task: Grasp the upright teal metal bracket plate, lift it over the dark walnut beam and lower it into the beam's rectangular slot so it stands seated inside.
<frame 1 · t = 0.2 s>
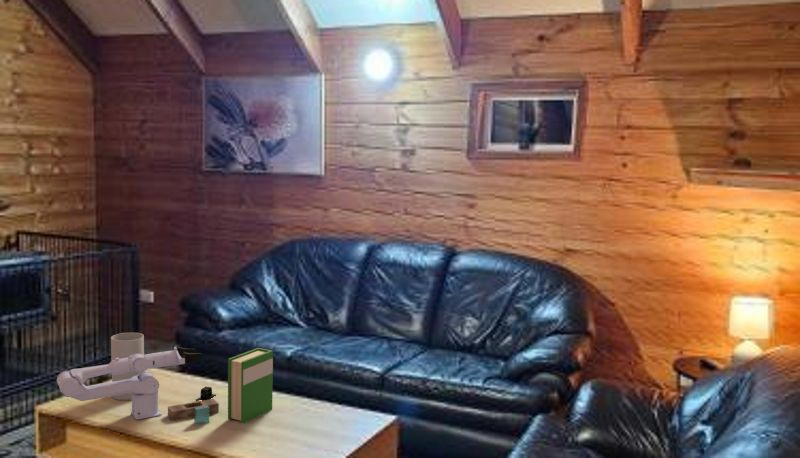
hand: (198, 353, 284), 21 cm above the table, tool horizontal, fingers open, 7 cm apart
hardback book: (250, 414, 279), on the table
slotted beam: (193, 413, 278), on the table
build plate: (206, 399, 296), on the table
cylinder vase: (128, 396, 295), on the table
bracket: (201, 422, 270), on the table
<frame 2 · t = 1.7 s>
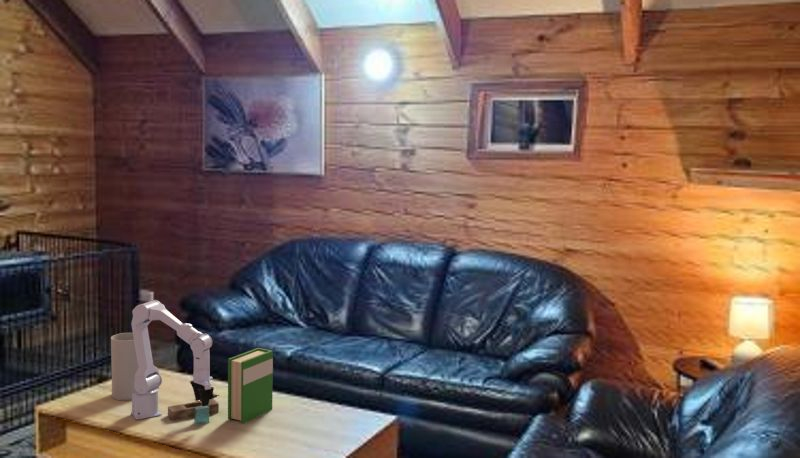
hand: (201, 402, 269), 8 cm above the table, tool pointing down, fingers open, 7 cm apart
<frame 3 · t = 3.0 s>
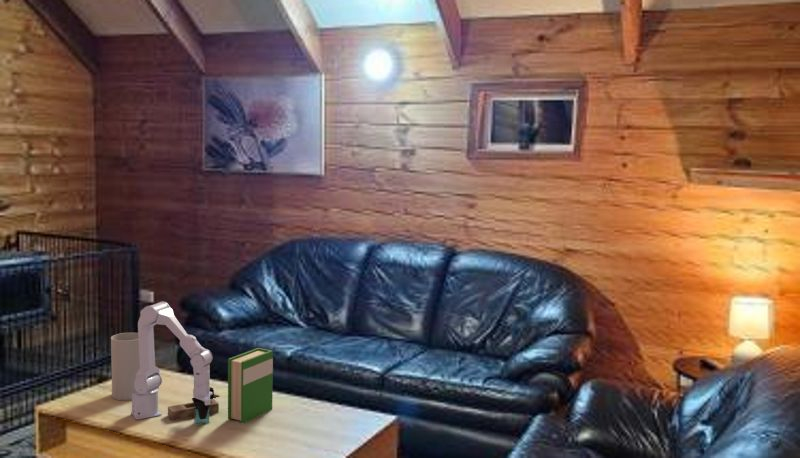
hand: (201, 417, 269), 2 cm above the table, tool pointing down, fingers closed on bracket, 2 cm apart
bracket: (201, 422, 270), on the table, touching gripper
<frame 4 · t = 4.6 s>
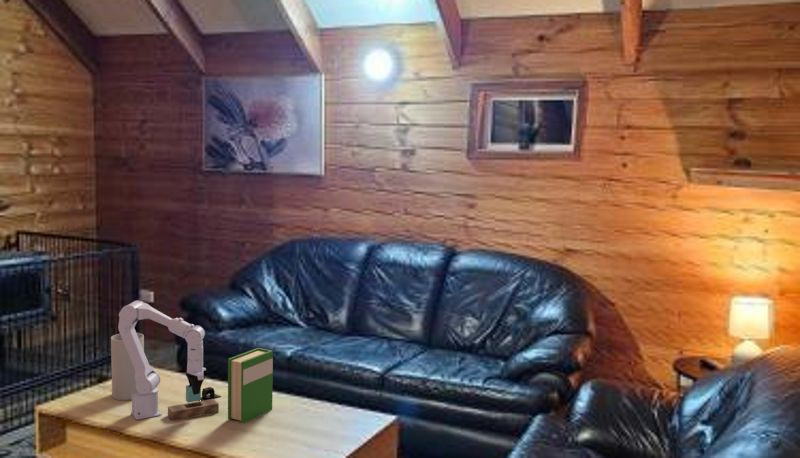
hand: (195, 392, 275), 9 cm above the table, tool pointing down, fingers closed on bracket, 2 cm apart
bracket: (193, 400, 275), point 6 cm above the table, touching gripper
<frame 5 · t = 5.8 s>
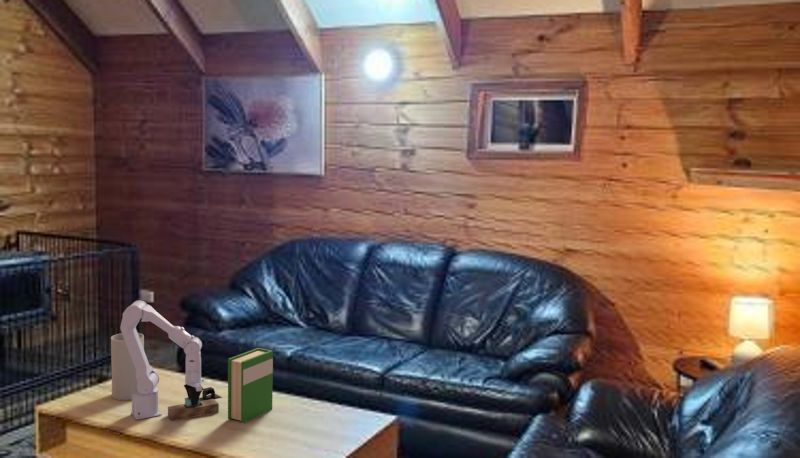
hand: (193, 403, 277), 4 cm above the table, tool pointing down, fingers closed on bracket, 2 cm apart
bracket: (192, 412, 278), point 1 cm above the table, touching gripper
when the fingers open (4 cm above the table, at t = 6.5 s): bracket stays where it is, resting in slotted beam.
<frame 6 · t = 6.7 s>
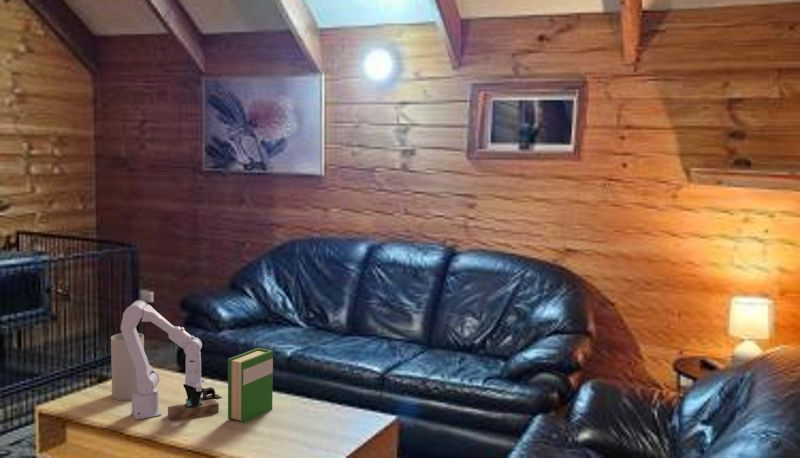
hand: (193, 403, 277), 4 cm above the table, tool pointing down, fingers open, 4 cm apart
bracket: (193, 413, 278), resting in slotted beam
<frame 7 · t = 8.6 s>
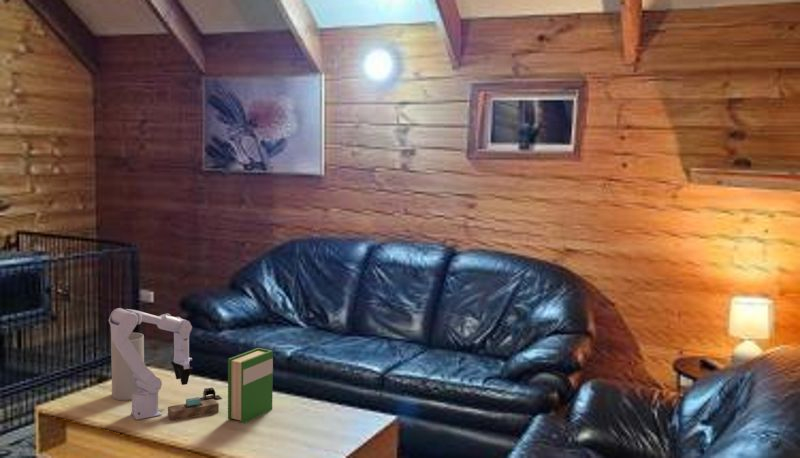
hand: (181, 381, 286), 9 cm above the table, tool pointing down, fingers open, 7 cm apart
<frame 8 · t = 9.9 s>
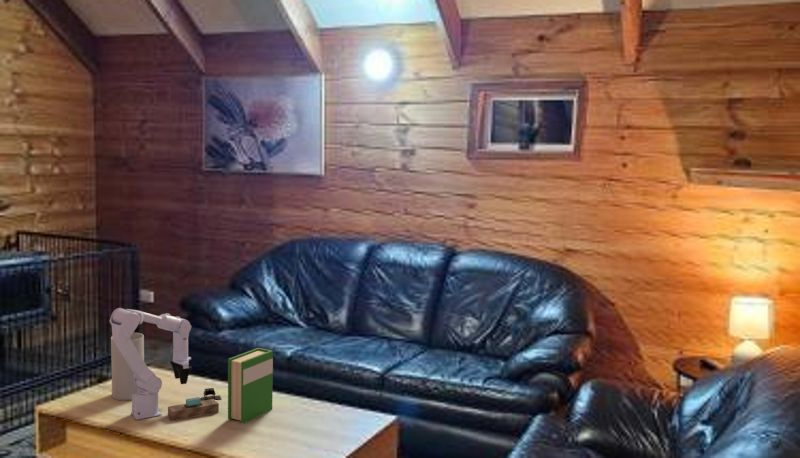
hand: (180, 381, 287), 9 cm above the table, tool pointing down, fingers open, 7 cm apart
at the end: bracket 0.1 cm off-centre on the slotted beam, point 0.0 cm above the slotted beam's base; bracket tilted 0°; the gripper is holding nothing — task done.
